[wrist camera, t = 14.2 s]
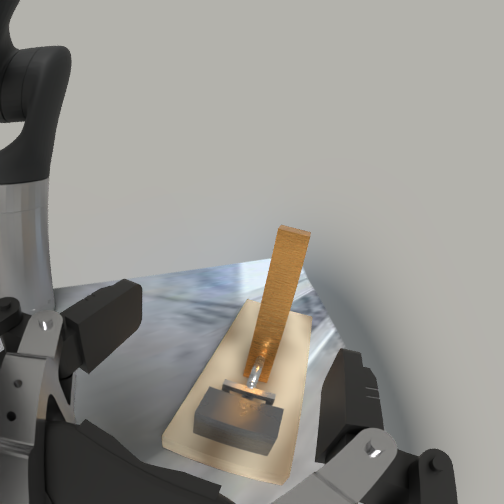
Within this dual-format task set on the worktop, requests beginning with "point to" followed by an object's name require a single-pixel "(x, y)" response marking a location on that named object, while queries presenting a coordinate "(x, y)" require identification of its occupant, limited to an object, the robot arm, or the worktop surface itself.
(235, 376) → the rail board
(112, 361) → the worktop surface
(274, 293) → the upright wooden paddle
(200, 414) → the gray rectangular block
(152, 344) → the worktop surface
